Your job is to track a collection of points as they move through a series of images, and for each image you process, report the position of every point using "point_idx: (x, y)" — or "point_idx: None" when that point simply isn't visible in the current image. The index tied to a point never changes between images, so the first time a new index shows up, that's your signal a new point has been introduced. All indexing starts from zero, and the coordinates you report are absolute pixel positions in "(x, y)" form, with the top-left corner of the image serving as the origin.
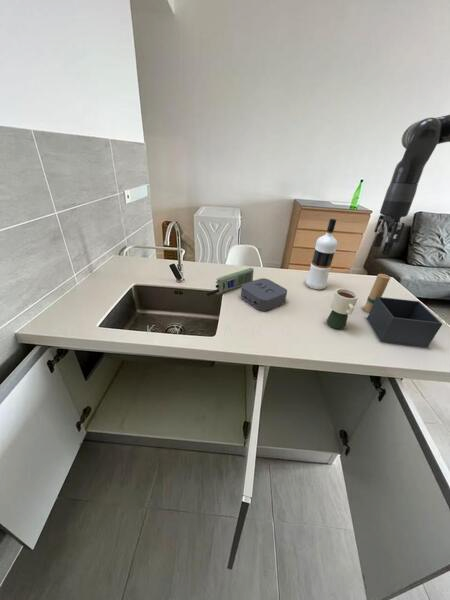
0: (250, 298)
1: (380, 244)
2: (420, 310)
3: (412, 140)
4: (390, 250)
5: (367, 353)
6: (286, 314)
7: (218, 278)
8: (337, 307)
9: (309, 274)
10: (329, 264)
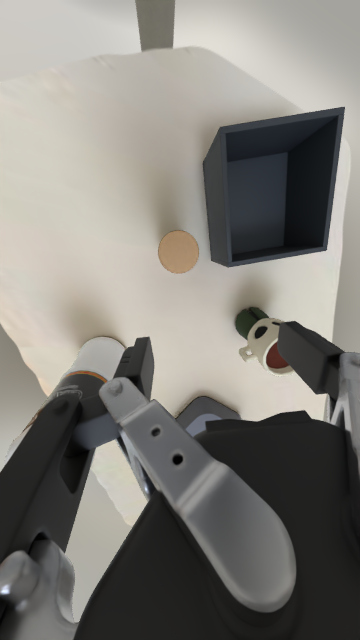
0: None
1: (146, 344)
2: (245, 136)
3: None
4: (320, 336)
5: (317, 278)
6: (237, 389)
7: None
8: None
9: None
10: (96, 381)
